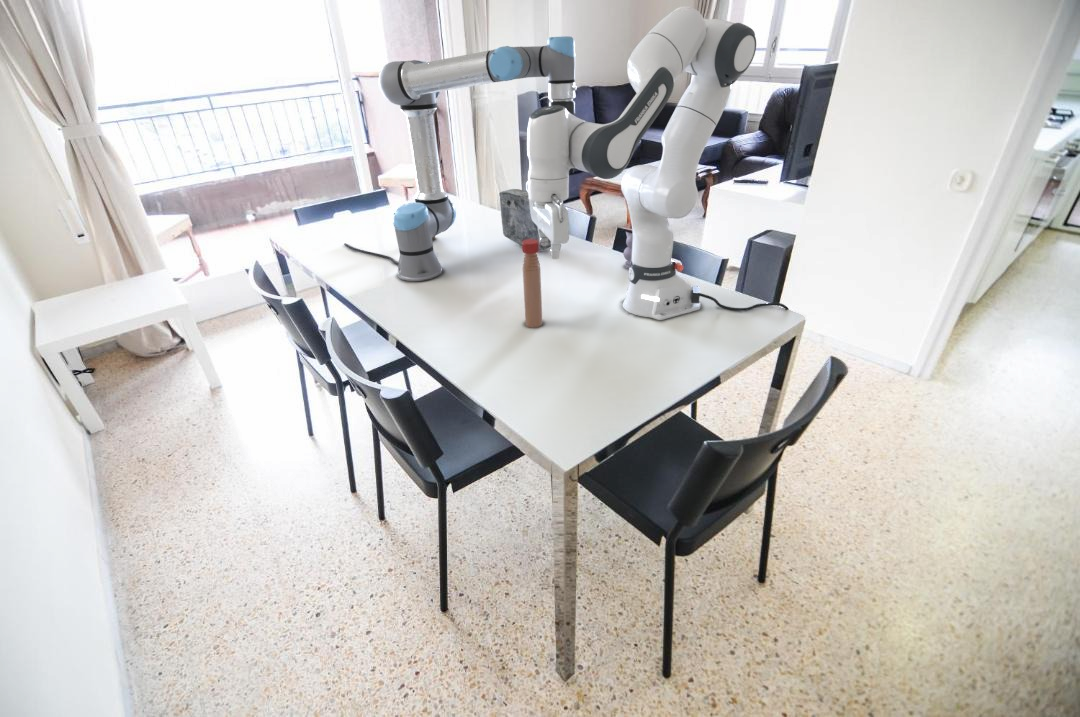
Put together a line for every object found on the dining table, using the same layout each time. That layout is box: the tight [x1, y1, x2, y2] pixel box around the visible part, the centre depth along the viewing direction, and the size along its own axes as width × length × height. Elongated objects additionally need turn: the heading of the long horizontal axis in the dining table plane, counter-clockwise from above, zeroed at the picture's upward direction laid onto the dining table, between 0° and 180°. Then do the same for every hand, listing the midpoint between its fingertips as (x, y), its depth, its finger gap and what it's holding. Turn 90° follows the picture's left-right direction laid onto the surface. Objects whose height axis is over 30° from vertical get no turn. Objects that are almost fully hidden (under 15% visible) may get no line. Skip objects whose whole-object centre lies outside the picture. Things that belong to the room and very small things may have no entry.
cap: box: [521, 239, 540, 254], centre depth 129 cm, size 4×4×3 cm
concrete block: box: [498, 188, 551, 252], centre depth 192 cm, size 27×9×20 cm, turn 36°
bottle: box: [522, 253, 543, 329], centre depth 134 cm, size 5×5×24 cm
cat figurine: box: [622, 231, 633, 270], centre depth 172 cm, size 8×8×12 cm
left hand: (562, 177), depth 154 cm, fingers open, 13 cm apart
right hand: (549, 251), depth 115 cm, fingers open, 8 cm apart
